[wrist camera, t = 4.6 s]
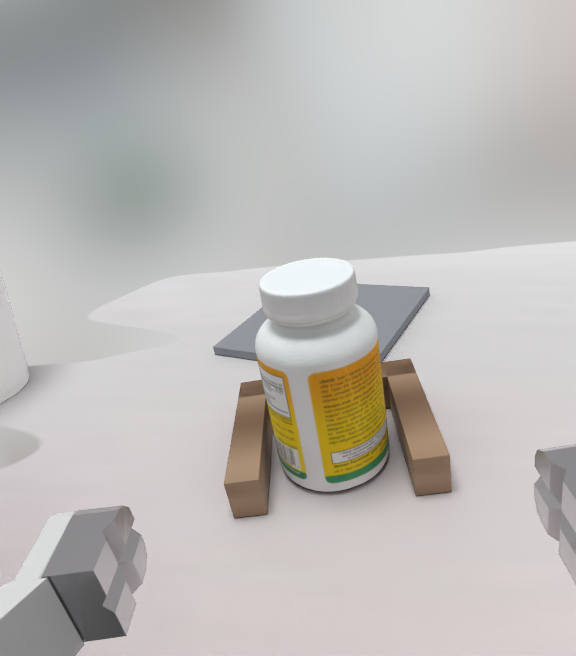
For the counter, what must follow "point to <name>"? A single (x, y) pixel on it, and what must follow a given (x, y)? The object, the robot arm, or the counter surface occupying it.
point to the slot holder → (400, 395)
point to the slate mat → (378, 300)
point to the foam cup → (10, 351)
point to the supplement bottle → (322, 375)
